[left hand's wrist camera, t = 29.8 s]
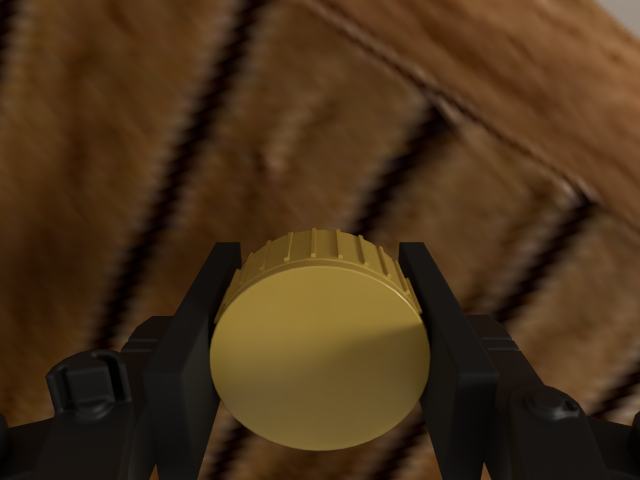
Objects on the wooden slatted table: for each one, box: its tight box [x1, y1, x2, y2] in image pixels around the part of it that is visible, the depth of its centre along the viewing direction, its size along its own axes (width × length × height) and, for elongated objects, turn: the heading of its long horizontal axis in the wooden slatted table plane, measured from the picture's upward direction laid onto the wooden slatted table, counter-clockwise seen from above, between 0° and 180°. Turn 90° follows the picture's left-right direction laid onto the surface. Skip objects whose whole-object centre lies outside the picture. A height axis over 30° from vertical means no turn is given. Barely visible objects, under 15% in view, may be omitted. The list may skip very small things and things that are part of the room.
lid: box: [209, 228, 431, 451], centre depth 11 cm, size 5×5×2 cm
